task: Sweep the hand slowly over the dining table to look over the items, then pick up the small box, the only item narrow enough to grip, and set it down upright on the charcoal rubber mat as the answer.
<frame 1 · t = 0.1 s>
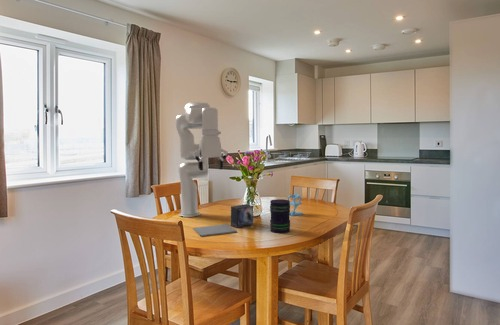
hand: (210, 169, 173), 31 cm above the table, tool pointing down, fingers open, 9 cm apart
storage jar: (280, 231, 179), on the table
small box: (242, 226, 190), on the table
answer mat: (214, 230, 180), on the table
chair: (294, 214, 215), on the table
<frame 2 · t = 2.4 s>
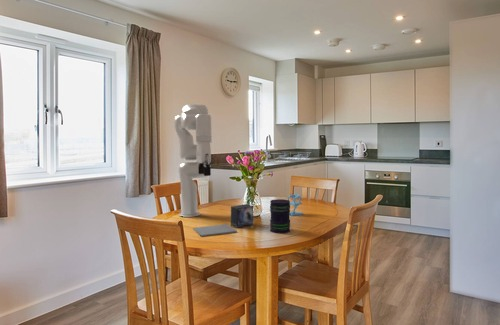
hand: (204, 174, 177), 28 cm above the table, tool pointing down, fingers open, 9 cm apart
nothing on the table moved.
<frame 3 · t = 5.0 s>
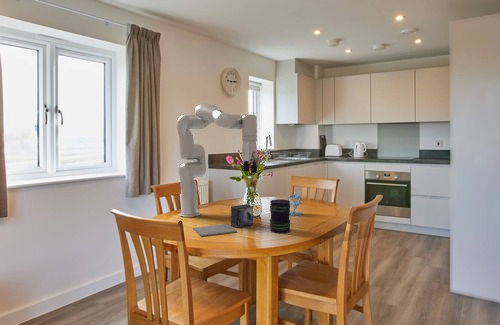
hand: (250, 171, 187), 28 cm above the table, tool pointing down, fingers open, 9 cm apart
nothing on the table moved.
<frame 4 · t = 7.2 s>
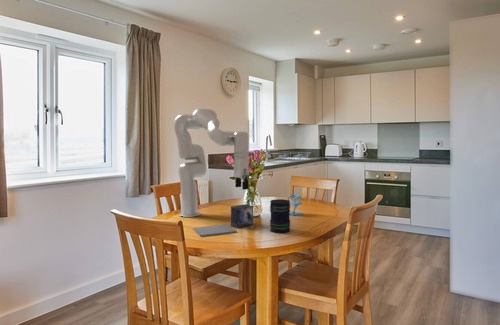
hand: (241, 188, 189), 20 cm above the table, tool pointing down, fingers open, 9 cm apart
nothing on the table moved.
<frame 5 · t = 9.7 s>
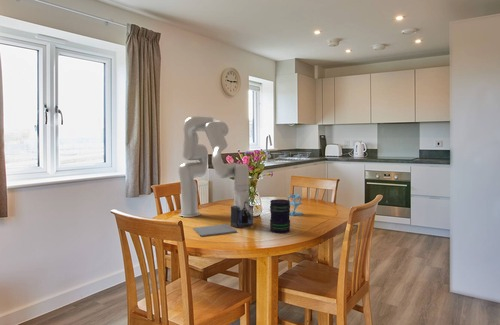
hand: (242, 221, 190), 2 cm above the table, tool pointing down, fingers closed on small box, 7 cm apart
small box: (242, 225, 190), on the table, touching gripper
everything else where it was.
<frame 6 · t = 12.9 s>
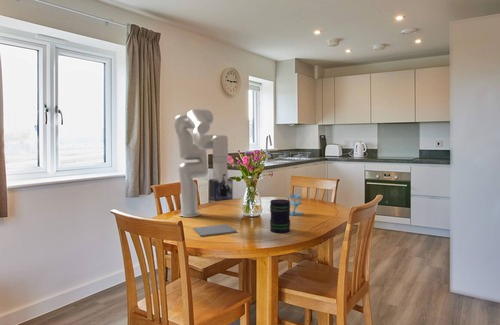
hand: (220, 195, 181), 18 cm above the table, tool pointing down, fingers closed on small box, 7 cm apart
small box: (221, 200, 181), point 15 cm above the table, touching gripper
everything else where it was.
when the fingers open (5 cm above the table, at t = 16.2 s): small box drops 1 cm, resting on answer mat.
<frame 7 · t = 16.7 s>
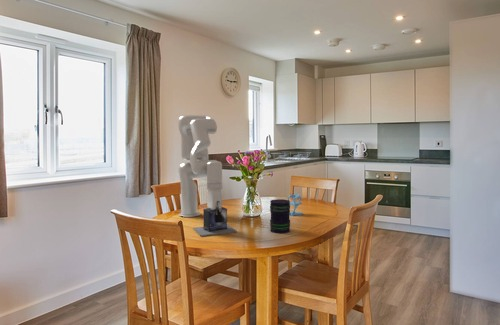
hand: (215, 220, 180), 5 cm above the table, tool pointing down, fingers open, 9 cm apart
small box: (215, 229, 180), point 1 cm above the table, touching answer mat
everything else where it was.
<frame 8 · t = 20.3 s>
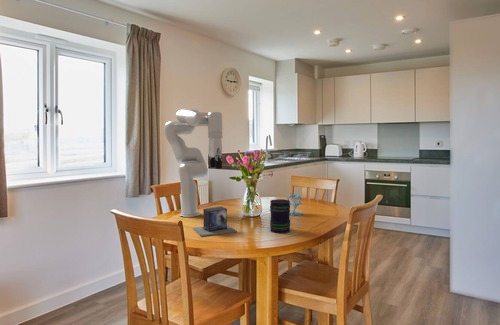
hand: (215, 167, 192), 30 cm above the table, tool pointing down, fingers open, 9 cm apart
nothing on the table moved.
at the end: small box inside the target area on the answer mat (0.5 cm from its centre), point 0.6 cm above the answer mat's base; small box tilted 0°; the gripper is holding nothing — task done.
